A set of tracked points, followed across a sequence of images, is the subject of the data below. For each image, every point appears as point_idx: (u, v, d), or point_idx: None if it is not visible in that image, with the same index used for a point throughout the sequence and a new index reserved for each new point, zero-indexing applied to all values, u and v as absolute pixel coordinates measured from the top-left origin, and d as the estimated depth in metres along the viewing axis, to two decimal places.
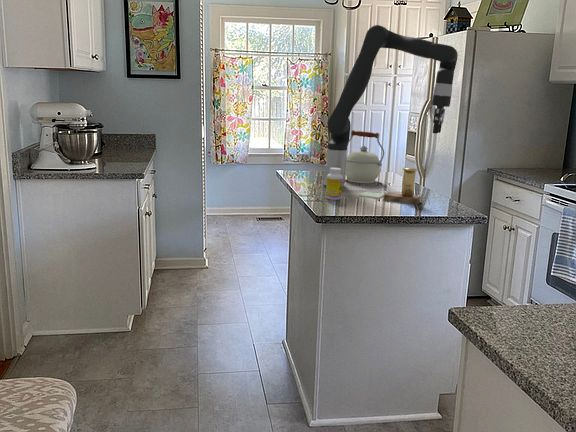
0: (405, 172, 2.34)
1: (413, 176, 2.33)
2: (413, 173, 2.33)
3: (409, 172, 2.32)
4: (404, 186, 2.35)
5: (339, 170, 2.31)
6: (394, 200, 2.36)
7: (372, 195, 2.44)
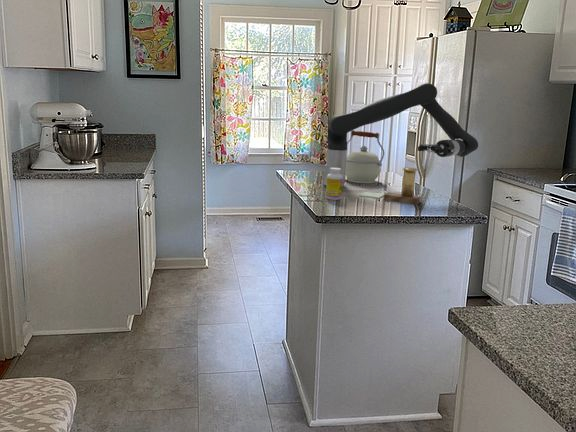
0: (405, 172, 2.34)
1: (413, 176, 2.33)
2: (413, 173, 2.33)
3: (409, 172, 2.32)
4: (404, 186, 2.35)
5: (339, 170, 2.31)
6: (394, 200, 2.36)
7: (372, 195, 2.44)
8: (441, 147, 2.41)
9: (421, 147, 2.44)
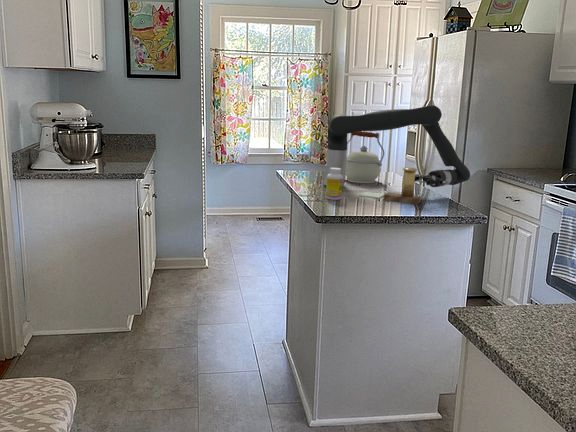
0: (405, 172, 2.34)
1: (413, 176, 2.33)
2: (413, 173, 2.33)
3: (409, 172, 2.32)
4: (404, 186, 2.35)
5: (339, 170, 2.31)
6: (394, 200, 2.36)
7: (372, 195, 2.44)
8: (433, 178, 2.42)
9: None
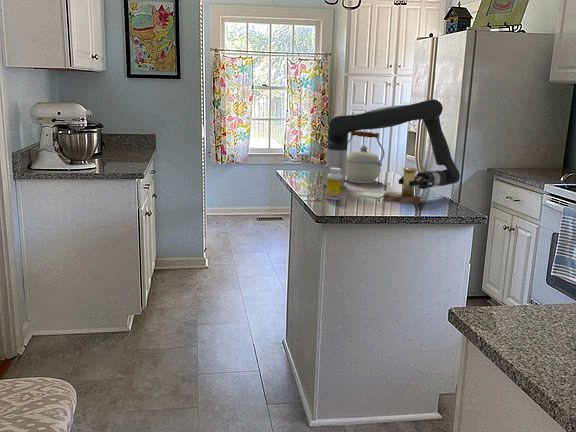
0: (405, 172, 2.34)
1: (413, 176, 2.33)
2: (413, 173, 2.33)
3: (409, 172, 2.32)
4: (404, 186, 2.35)
5: (339, 170, 2.31)
6: (394, 200, 2.36)
7: (372, 195, 2.44)
8: (417, 179, 2.36)
9: (402, 180, 2.37)
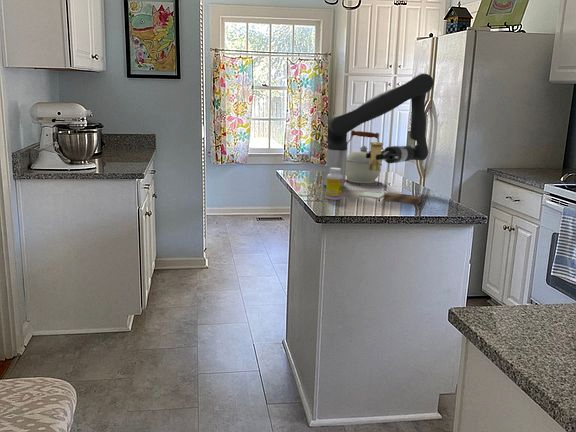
0: (372, 146, 2.40)
1: (379, 150, 2.40)
2: (379, 147, 2.40)
3: (375, 146, 2.39)
4: (371, 160, 2.41)
5: (339, 170, 2.31)
6: (394, 200, 2.36)
7: (372, 195, 2.44)
8: (384, 153, 2.42)
9: (369, 154, 2.43)
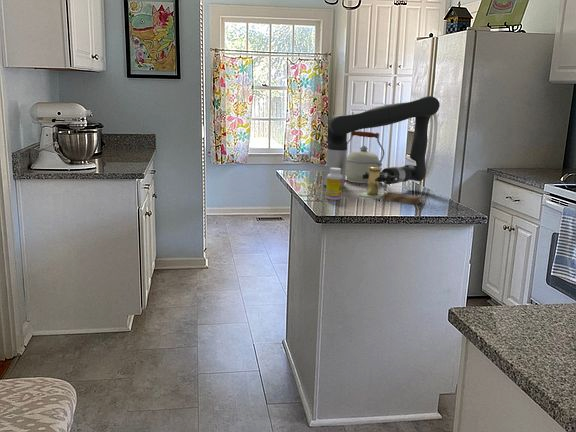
0: (370, 171, 2.43)
1: (378, 175, 2.43)
2: (378, 172, 2.42)
3: (374, 171, 2.42)
4: (369, 184, 2.44)
5: (339, 170, 2.31)
6: (394, 200, 2.36)
7: (372, 195, 2.44)
8: (384, 175, 2.44)
9: (366, 175, 2.47)
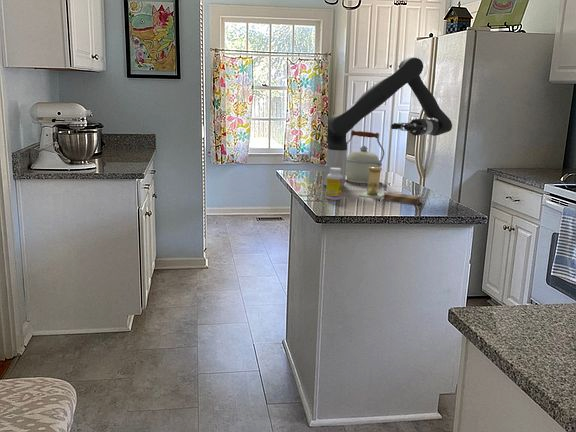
0: (370, 171, 2.43)
1: (378, 175, 2.43)
2: (378, 172, 2.42)
3: (374, 171, 2.42)
4: (369, 185, 2.44)
5: (339, 170, 2.31)
6: (394, 200, 2.36)
7: (372, 195, 2.44)
8: (414, 125, 2.46)
9: (394, 125, 2.49)
